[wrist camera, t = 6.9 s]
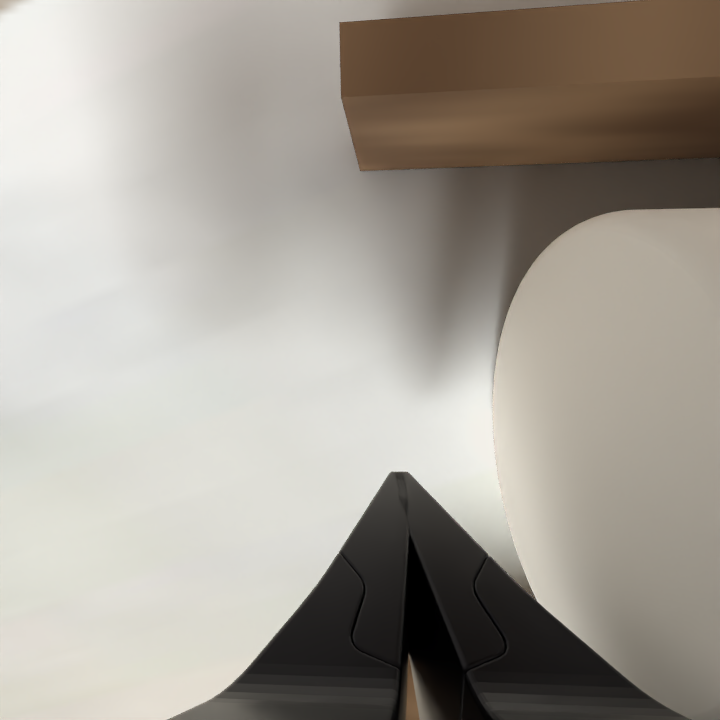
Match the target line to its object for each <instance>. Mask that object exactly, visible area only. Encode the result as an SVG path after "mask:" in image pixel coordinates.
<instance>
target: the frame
mask: <svg viewBox="0 0 720 720" xmlns="http://www.w3.org/2000/svg"><path fill="white" fill-rule="evenodd" d="M339 23H340V68H341V99H342V102H343V106H344V110H345V114H346V118H347V122H348V126H349V129H350V133H351V137H352V141H353V145H354V149H355V153H356V156H357V160H358V164H359V168H360V171H373V170H400V169H426V168H453V167H480V166H506V165H533V164H560V163H586V162H613V161H640V160H666V159H693V158H720V0H641V1H627V2H614V3H600V4H586V5H573V6H559V7H545V8H531V9H518V10H504V11H490V12H476V13H463V14H449V15H435V16H421V17H408V18H394V19H380V20H366V21H353V22H339ZM406 720H420V719H419V713H418V707H417V701H416V695H415V689H414V682H413V676H412V670H411V664H410V658H409V654H408V682H407V710H406Z"/></svg>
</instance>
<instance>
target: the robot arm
mask: <svg viewBox="0 0 720 720" xmlns="http://www.w3.org/2000/svg"><path fill="white" fill-rule="evenodd" d="M408 654H409V658H410V664H411V670H412V676H413V682H414V689H415V695H416V701H417V707H418V713H419V719H420V720H692V719H689V718H687V717H685V716H683V715H681V714H679V713H677V712H675V711H673V710H671V709H669V708H668V707H666V706H664V705H663V704H661V703H659V702H658V701H656V700H655V699H653V698H652V697H650V696H649V695H648V694H646V693H645V692H643V691H642V690H641V689H639V688H638V687H637V686H635V685H634V684H633V683H632V682H630V681H629V680H628V679H627V678H626V677H624V676H623V675H622V674H621V673H620V672H618V671H617V670H616V669H615V668H614V667H613V666H611V665H610V664H609V663H608V662H607V661H606V660H604V659H603V658H602V657H601V656H600V655H599V654H597V653H596V652H595V651H594V650H593V649H592V648H590V647H589V646H588V645H587V644H586V643H585V642H583V641H582V640H581V639H580V638H579V637H578V636H576V635H575V634H574V633H573V632H572V631H571V630H569V629H568V628H567V627H566V626H565V625H563V624H562V623H561V622H560V621H559V620H558V619H556V618H555V617H554V616H553V615H552V614H551V613H549V612H548V611H547V610H546V609H545V608H544V607H543V606H542V605H541V604H539V603H538V602H537V601H536V600H535V599H534V598H533V597H532V596H530V595H529V594H528V593H527V592H526V591H525V590H524V589H523V588H522V587H521V586H520V585H519V584H518V583H516V582H515V581H514V580H513V579H512V578H511V577H510V576H509V575H508V574H507V573H506V572H505V571H504V570H503V569H502V568H501V567H500V566H499V565H498V564H497V563H496V562H495V561H494V560H493V559H492V558H491V557H489V556H488V554H487V553H486V552H485V551H484V550H483V549H482V547H481V546H480V545H479V544H478V543H477V542H476V541H475V540H474V539H473V538H472V537H471V536H470V535H469V534H468V533H467V532H466V531H465V530H464V529H463V528H462V527H461V526H460V525H459V524H458V523H457V522H456V521H455V520H454V519H453V518H452V517H451V516H450V515H449V514H448V513H447V512H446V510H445V509H444V508H443V507H442V506H441V505H440V504H439V503H438V502H437V501H436V500H435V499H434V498H433V497H432V496H431V495H430V494H429V493H428V492H427V491H426V490H425V489H424V488H423V487H422V486H421V485H420V484H419V483H418V482H417V481H416V480H415V479H414V478H413V477H412V476H411V475H410V473H408V472H390V473H389V475H388V476H387V478H386V480H385V481H384V483H383V484H382V486H381V487H380V489H379V491H378V492H377V494H376V495H375V497H374V498H373V500H372V501H371V503H370V505H369V506H368V508H367V509H366V511H365V512H364V514H363V515H362V517H361V519H360V520H359V522H358V523H357V525H356V526H355V528H354V529H353V531H352V533H351V534H350V536H349V537H348V539H347V540H346V542H345V544H344V545H343V547H342V548H341V550H340V551H339V554H337V556H336V557H335V559H334V560H333V562H332V564H331V565H330V567H329V568H328V570H327V571H326V572H325V574H324V575H323V577H322V578H321V580H320V581H319V582H318V584H317V585H316V587H315V588H314V589H313V590H312V592H311V593H310V594H309V595H308V597H307V598H306V599H305V600H304V602H303V603H302V604H301V605H300V607H299V608H298V609H297V610H296V611H295V613H294V614H293V615H292V616H291V617H290V618H289V620H288V621H287V622H286V623H285V624H284V626H283V627H282V628H281V629H280V630H279V631H278V633H277V634H276V635H275V636H274V637H273V639H272V640H271V641H270V642H269V643H268V644H267V646H266V647H265V648H264V649H263V650H262V651H261V653H260V654H259V655H258V656H257V657H256V659H255V660H254V661H253V662H252V663H251V664H250V666H249V667H248V668H247V669H246V670H245V671H244V672H243V673H242V674H241V675H240V676H239V677H238V678H237V679H236V680H235V681H234V682H233V683H232V684H231V685H230V686H228V687H227V688H226V689H225V690H224V691H222V692H221V693H220V694H218V695H217V696H215V697H214V698H212V699H210V700H208V701H207V702H205V703H202V704H200V705H198V706H196V707H194V708H192V709H189V710H187V711H185V712H183V713H181V714H179V715H176V716H174V717H172V718H170V719H168V720H406V710H407V682H408Z"/></svg>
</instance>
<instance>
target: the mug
mask: <svg viewBox="0 0 720 720" xmlns="http://www.w3.org/2000/svg"><path fill="white" fill-rule="evenodd" d="M493 437H494V449H495V459H496V467H497V474H498V480H499V486H500V491H501V496H502V501H503V505H504V509H505V514H506V518H507V521H508V525H509V529H510V532H511V535H512V539H513V542H514V545H515V548H516V551H517V554H518V557H519V559H520V562H521V565H522V567H523V570H524V573H525V575H526V577H527V580H528V582H529V585H530V587H531V589H532V591H533V593H534V595H535V598H536V600H537V602H538V603H539V604H541V605H542V606H543V607H544V608H545V609H546V610H547V611H548V612H549V613H551V614H552V615H553V616H554V617H555V618H556V619H558V620H559V621H560V622H561V623H562V624H563V625H565V626H566V627H567V628H568V629H569V630H571V631H572V632H573V633H574V634H575V635H576V636H578V637H579V638H580V639H581V640H582V641H583V642H585V643H586V644H587V645H588V646H589V647H590V648H592V649H593V650H594V651H595V652H596V653H597V654H599V655H600V656H601V657H602V658H603V659H604V660H606V661H607V662H608V663H609V664H610V665H611V666H613V667H614V668H615V669H616V670H617V671H618V672H620V673H621V674H622V675H623V676H624V677H626V678H627V679H628V680H629V681H630V682H632V683H633V684H634V685H635V686H637V687H638V688H639V689H641V690H642V691H643V692H645V693H646V694H648V695H649V696H650V697H652V698H653V699H655V700H656V701H658V702H659V703H661V704H663V705H664V706H666V707H668V708H669V709H671V710H673V711H675V712H677V713H679V714H681V715H683V716H685V717H687V718H689V719H692V720H720V208H690V209H645V210H622V211H616V212H610V213H606V214H602V215H599V216H596V217H593V218H590V219H588V220H586V221H584V222H581V223H579V224H577V225H575V226H574V227H572V228H570V229H569V230H567V231H566V232H564V233H563V234H561V235H560V236H559V237H558V238H556V239H555V240H554V241H553V242H552V243H551V244H550V245H549V246H548V247H547V248H546V249H545V250H544V251H543V252H542V253H541V254H540V255H539V256H538V258H537V259H536V260H535V261H534V263H533V264H532V266H531V267H530V268H529V270H528V271H527V273H526V275H525V276H524V278H523V280H522V281H521V283H520V285H519V287H518V289H517V291H516V293H515V296H514V298H513V300H512V303H511V305H510V308H509V311H508V313H507V316H506V319H505V323H504V326H503V330H502V334H501V338H500V342H499V347H498V353H497V359H496V366H495V374H494V386H493Z"/></svg>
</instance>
